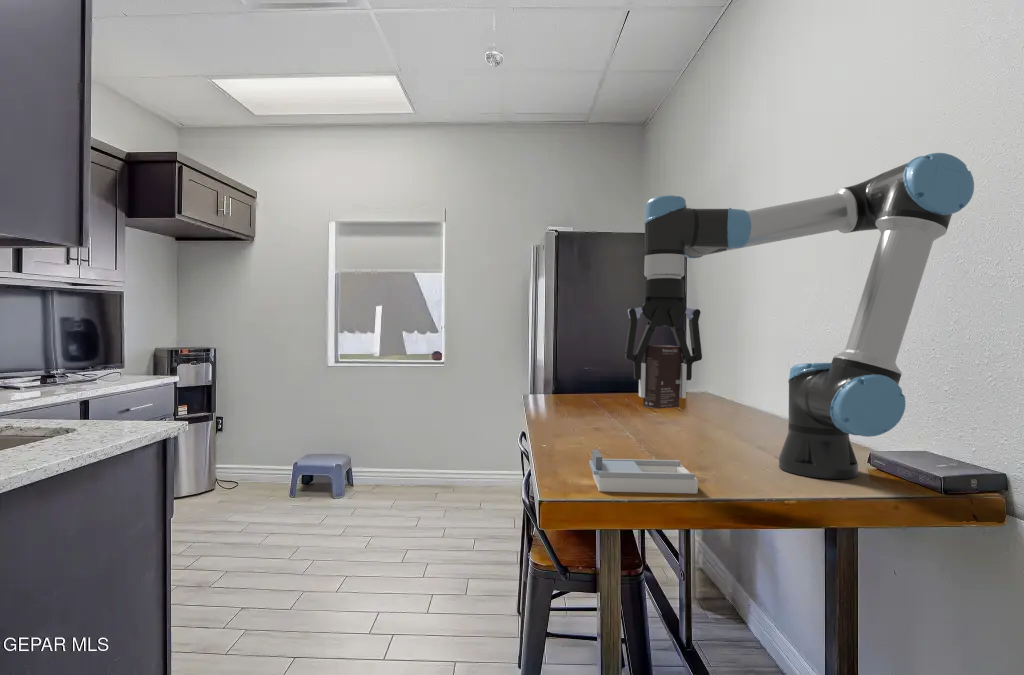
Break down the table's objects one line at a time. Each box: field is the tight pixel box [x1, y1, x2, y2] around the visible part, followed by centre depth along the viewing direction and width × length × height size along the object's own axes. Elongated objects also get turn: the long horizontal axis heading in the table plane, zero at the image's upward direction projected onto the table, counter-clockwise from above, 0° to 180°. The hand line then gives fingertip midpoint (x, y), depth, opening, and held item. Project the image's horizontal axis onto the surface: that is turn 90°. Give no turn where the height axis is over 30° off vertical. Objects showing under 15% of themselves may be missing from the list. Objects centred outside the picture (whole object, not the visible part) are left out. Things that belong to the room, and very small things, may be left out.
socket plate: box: [592, 458, 699, 494], centre depth 114 cm, size 18×12×4 cm, turn 88°
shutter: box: [588, 449, 642, 475], centre depth 115 cm, size 9×9×3 cm
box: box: [642, 344, 682, 410], centre depth 114 cm, size 6×4×12 cm
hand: (662, 396), depth 114 cm, fingers closed on box, 7 cm apart
